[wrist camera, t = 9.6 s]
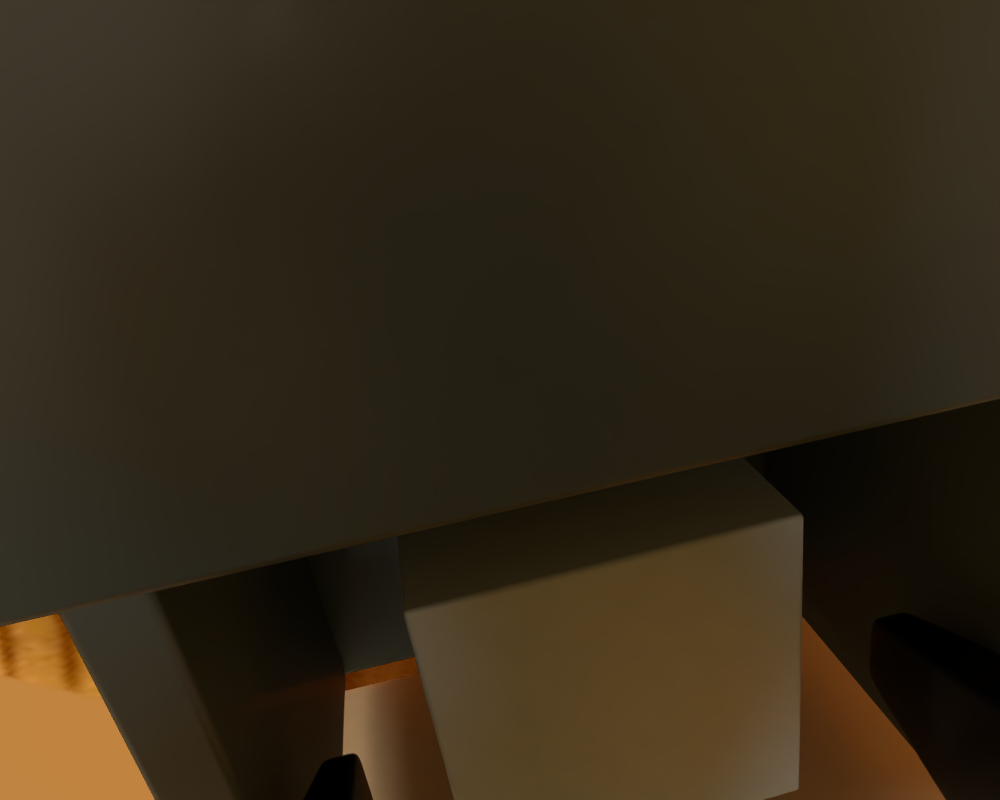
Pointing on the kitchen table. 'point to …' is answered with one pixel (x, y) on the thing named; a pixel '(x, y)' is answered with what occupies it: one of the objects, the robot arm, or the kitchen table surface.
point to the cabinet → (462, 260)
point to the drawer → (401, 701)
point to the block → (615, 642)
